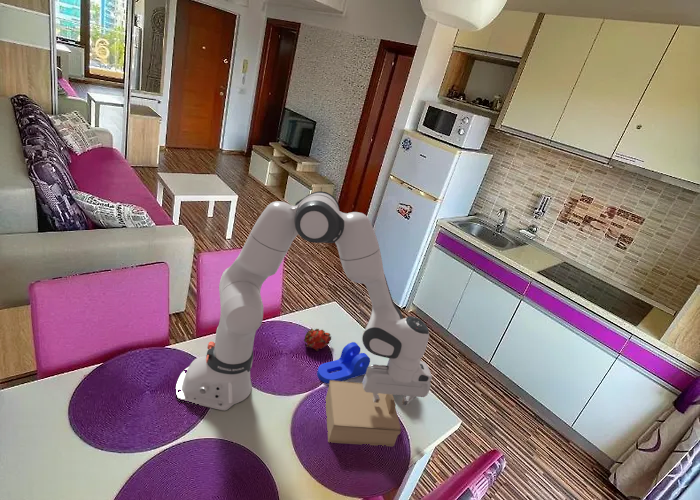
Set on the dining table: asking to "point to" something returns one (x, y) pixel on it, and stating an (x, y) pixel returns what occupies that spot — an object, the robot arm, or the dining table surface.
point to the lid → (362, 409)
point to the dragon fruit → (317, 339)
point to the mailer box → (353, 436)
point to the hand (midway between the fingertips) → (390, 402)
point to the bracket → (345, 365)
